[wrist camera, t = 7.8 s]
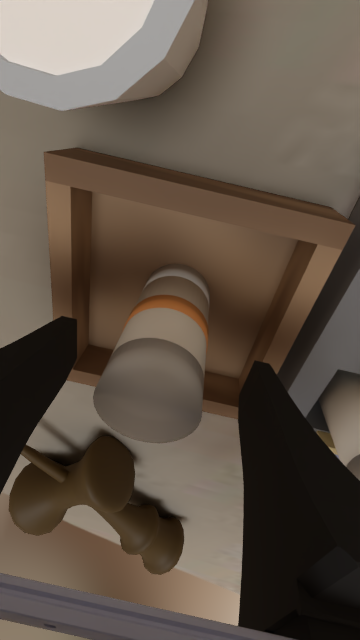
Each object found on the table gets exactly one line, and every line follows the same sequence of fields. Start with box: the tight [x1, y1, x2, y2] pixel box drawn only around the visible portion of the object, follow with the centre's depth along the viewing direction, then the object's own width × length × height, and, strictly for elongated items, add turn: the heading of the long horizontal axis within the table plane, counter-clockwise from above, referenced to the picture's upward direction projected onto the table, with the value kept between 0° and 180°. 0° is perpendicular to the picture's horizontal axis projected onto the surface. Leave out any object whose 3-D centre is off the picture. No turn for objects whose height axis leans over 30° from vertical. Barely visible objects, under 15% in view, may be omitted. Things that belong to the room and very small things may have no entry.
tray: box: [44, 148, 355, 419], centre depth 16 cm, size 12×12×3 cm
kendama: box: [9, 436, 184, 575], centre depth 27 cm, size 6×10×20 cm
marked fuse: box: [93, 264, 210, 443], centre depth 13 cm, size 4×4×8 cm
